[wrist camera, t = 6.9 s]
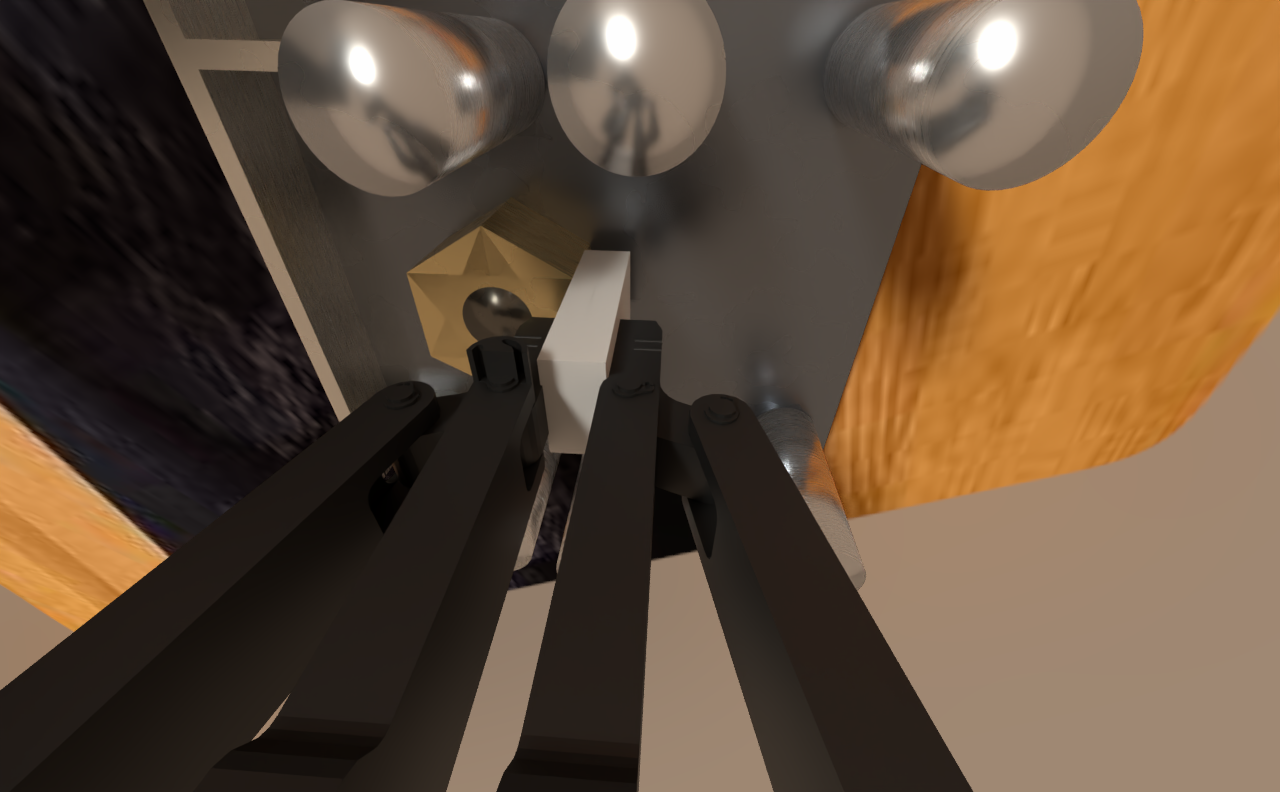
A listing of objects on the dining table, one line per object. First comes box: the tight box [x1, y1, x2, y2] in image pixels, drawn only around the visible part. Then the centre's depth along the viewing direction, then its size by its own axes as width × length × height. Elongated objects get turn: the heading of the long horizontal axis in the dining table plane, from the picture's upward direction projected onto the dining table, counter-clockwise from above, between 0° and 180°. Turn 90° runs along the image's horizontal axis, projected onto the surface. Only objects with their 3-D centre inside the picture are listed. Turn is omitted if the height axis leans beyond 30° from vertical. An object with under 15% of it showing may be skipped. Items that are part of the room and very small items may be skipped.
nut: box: [407, 197, 591, 376], centre depth 16 cm, size 5×6×3 cm
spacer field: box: [143, 0, 1143, 590], centre depth 15 cm, size 20×17×8 cm
